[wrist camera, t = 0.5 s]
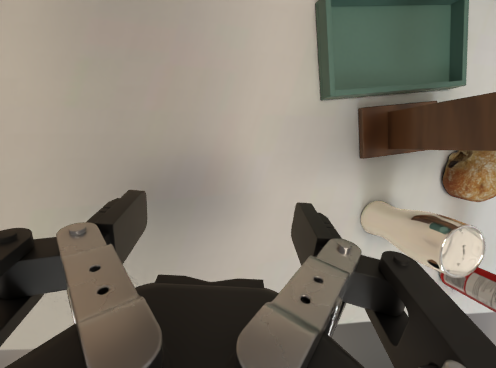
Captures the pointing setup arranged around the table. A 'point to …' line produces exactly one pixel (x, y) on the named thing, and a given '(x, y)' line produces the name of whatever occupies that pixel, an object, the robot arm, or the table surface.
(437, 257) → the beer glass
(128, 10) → the table surface
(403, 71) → the tray
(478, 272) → the soda can
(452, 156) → the bread roll
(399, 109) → the stand
